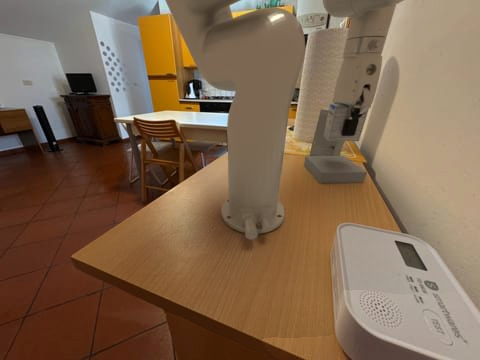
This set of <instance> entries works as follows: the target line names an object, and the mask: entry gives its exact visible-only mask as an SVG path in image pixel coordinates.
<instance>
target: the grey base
mask: <svg viewBox="0 0 480 360" xmlns="http://www.w3.org/2000/svg"><path fill="white" fill-rule="evenodd" d="M303 166H304V167H305V168H306V169H307V171H308V172H310V174H311V175H312V176H313V177H314V178H315V180H316V181H317V182H318V183H319V184H341V183H343V184H348V183H349V184H350V183H352V184H354V183H355V184H356V183H365V180H366V177H367V175H368V171H366V169H363V168H362V167H360V166H359V165H357V164H356V163H355V162H353V161H351V160H350V159H349V158H347V157H345V156H344V155H340V156H312V155H306V156H305V157H304V163H303Z"/></svg>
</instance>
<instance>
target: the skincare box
mask: <svg viewBox="0 0 480 360" xmlns="http://www.w3.org/2000/svg"><path fill="white" fill-rule="evenodd" d="M328 112H329V108H324V107H322V108H321V109H320V111H319V115H318V116H319V117H318V118H317V119H318V120H317V124H316V127H315V131H314V134H313V139H312V142H311V147H310V150H309V156H341V152H342V149H343V147H344V144H345V141H328V140H327V139H326V138H325V137H324V131H325V126H326V121H327V116H328Z"/></svg>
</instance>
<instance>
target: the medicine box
mask: <svg viewBox="0 0 480 360" xmlns="http://www.w3.org/2000/svg"><path fill="white" fill-rule="evenodd" d="M355 105H357V104H355ZM355 110H356V109H353V112H354V111H355ZM368 113H369V110H367V111H366V112H365V113H364V114H363V115H362V117H361V119H360V120H359V122H358V125H357V129H356V132H355V135H354V136H342V135H341V133H342V129H343V125H344V121H345V119H347V115H348V106H347V105H343V104H334V103H330V104H329V112H328V116H327V121H326V126H325V131H324V137H325V138H326V139H327V140H328V141H344V142H359V141H360V140H361V136H362V132H363V129H364V126H365V124H366V119H367V116H368Z"/></svg>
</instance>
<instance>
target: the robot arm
mask: <svg viewBox="0 0 480 360" xmlns="http://www.w3.org/2000/svg"><path fill="white" fill-rule="evenodd" d="M164 1H165V3H166V5H167V8H168V9H169V12H170V14H171V16H172V18H173V20H174V22H175V24H176V27H177V29H178V31H179V33H180V35H181V37H182V39H183V41H184V43H185V45H186V47H187V50H188V52H189V54H190V56H191V58H192V60H193V63H194V64H195V67H196V68H197V70H198V72H199V73H200V75H201V77H202V78H203V79H204V80H205V81H206V82H207V83H208V84H209V85H210V86H211V87H213V88H215V89H217V90H219V91H220V90H221V91H225V92H234V96H233V98H232V100H231V101H232V102H231V103H230V108H229V111H228V116H227V126H226V131H227V132H226V133H227V134H226V135H227V171H228V172H227V176H228V177H227V178H228V181H227V182H228V198H226V199H225V200H224V201H223V203H222V204H221V209H220V211H221V212H220V213H221V218H222V219H223V222H224V223H225V224H226V225H227V226H228V227H229V228H231V229H233V230H236V231H237V232H240V233H244V234H245V235H244V236H245V238H246V239H248V240H255V239H256V238H258V235H259V234H265V233H270V232H271V231H274V230H275V229H277V228H278V227H280V225H282V223H283V222H284V220H285V213H286V212H285V208H284V206H283V204H282V202H280V200H279V196H280V195H279V194H280V187H281V180H282V170H283V162H284V155H285V147H286V146H285V145H286V141H287V140H286V139H287V138H286V137H287V131H288V130H287V129H288V122H289V116H290V112H291V111H290V110H291V106H292V105H291V104H292V101H293V97H294V93H295V90H296V87H297V86H296V85H297V83H298V79H299V76H300V75H301V74H300V73H301V70H302V65H303V62H304V57H305V50H306V39H305V33H304V29H303V27H302V25H301V22H300V20H299V19H298V18H297V17H296V16H295V14H293V13H292V12H290V11H289V10H286V9H284V8H279V7H264V8H258V9H255V10H252V11H249V12H247V13H246V12H245V13H244V14H241V15H238V16H235V17H233V13H232V9H231V5H234V4H236V3H238V2H241V1H242V0H164ZM403 1H404V0H322V4H323V7H324V9H325V11H326V12H327V13H328V15H330V16H331V17H334V18H337V19H338V18H341V19H342V18H350V19H349V20H350V21H349V26H348V29H347V34H346V40H345V42H344V43H345V44H344V48H343V53H342V60H343V61H342V63H341V65H340V68H339V72H338V76H337V80H336V83H335V87H334V91H333V98H332V102H333V103H332V104H343V105H347V106H348V115H347V119H345V121H344V125H343V129H342V133H341V135H342V136H354V135H355V132H356V129H357V125H358V122H359V120H360V119H361V117H362V115H363V114H364V113H365V112H366V111H367V110H368V111H369V110H370V109H371V107H372V104H373V103H374V99H375V96H376V93H377V89H378V84H379V81H380V76H381V71H382V64H383V55H382V54H383V51H384V47H385V44H386V42H387V41H386V40H387V37H388V34H389V30H390V27H391V24H392V20H393V17H394V14H395V10H396V6H397V5H398V4H400V3H402V2H403ZM355 104H357V105H355ZM353 109H356V110H355V111H354V112H353Z"/></svg>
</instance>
